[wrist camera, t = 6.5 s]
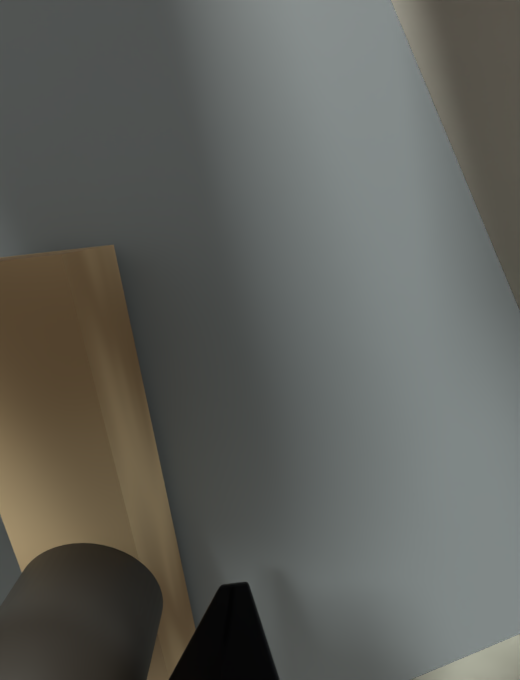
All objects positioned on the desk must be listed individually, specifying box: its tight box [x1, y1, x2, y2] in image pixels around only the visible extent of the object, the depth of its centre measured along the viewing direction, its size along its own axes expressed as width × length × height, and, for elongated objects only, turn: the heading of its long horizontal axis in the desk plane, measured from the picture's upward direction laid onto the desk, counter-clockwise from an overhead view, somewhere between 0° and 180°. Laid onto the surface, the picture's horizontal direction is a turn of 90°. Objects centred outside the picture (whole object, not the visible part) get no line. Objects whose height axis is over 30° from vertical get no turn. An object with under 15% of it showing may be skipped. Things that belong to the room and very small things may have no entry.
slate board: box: [0, 0, 520, 680], centre depth 11 cm, size 22×23×1 cm
